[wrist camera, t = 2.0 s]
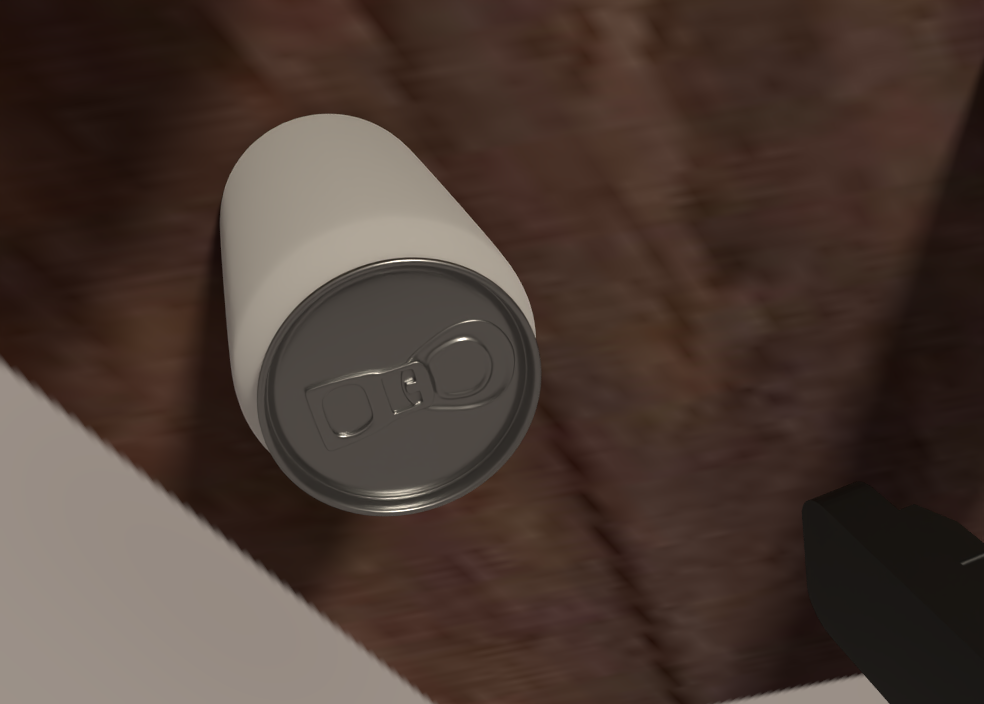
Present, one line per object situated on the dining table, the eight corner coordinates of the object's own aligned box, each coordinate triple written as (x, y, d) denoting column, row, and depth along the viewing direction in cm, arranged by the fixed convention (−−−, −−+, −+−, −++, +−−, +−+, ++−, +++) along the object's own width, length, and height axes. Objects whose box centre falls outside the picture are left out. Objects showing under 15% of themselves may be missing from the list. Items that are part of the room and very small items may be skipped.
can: (454, 277, 31) (588, 468, 20) (263, 342, 30) (300, 578, 19) (399, 81, 28) (524, 189, 17) (184, 148, 27) (176, 304, 16)
